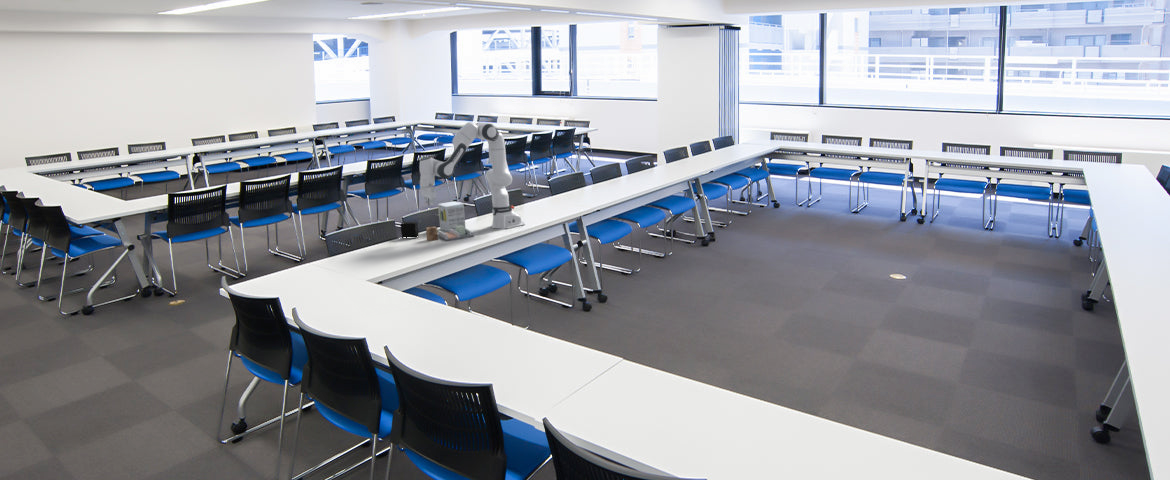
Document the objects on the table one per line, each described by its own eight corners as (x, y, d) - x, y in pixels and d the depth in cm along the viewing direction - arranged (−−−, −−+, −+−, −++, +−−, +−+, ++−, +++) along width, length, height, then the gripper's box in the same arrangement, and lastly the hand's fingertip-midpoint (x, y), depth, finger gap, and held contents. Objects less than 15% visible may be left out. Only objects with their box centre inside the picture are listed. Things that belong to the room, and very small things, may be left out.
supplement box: (439, 229, 516) (437, 203, 511) (457, 225, 523) (454, 200, 519) (448, 232, 505) (446, 206, 501) (466, 228, 513) (464, 203, 508)
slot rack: (464, 231, 506) (463, 222, 504) (473, 236, 490) (473, 227, 489) (436, 235, 497) (435, 227, 495) (445, 241, 482) (444, 232, 480)
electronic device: (416, 238, 493) (414, 223, 490) (401, 238, 495) (400, 223, 492) (418, 236, 497) (417, 221, 494) (404, 236, 499) (403, 221, 496)
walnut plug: (435, 238, 491) (434, 226, 489) (437, 239, 487) (436, 227, 485) (426, 239, 488) (425, 227, 486) (428, 241, 484) (427, 228, 482)
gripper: (437, 184, 471) (439, 206, 475) (427, 180, 489) (429, 201, 492) (427, 185, 468) (429, 207, 472) (418, 181, 486) (419, 202, 489)
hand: (429, 204), depth 482 cm, fingers open, 8 cm apart
